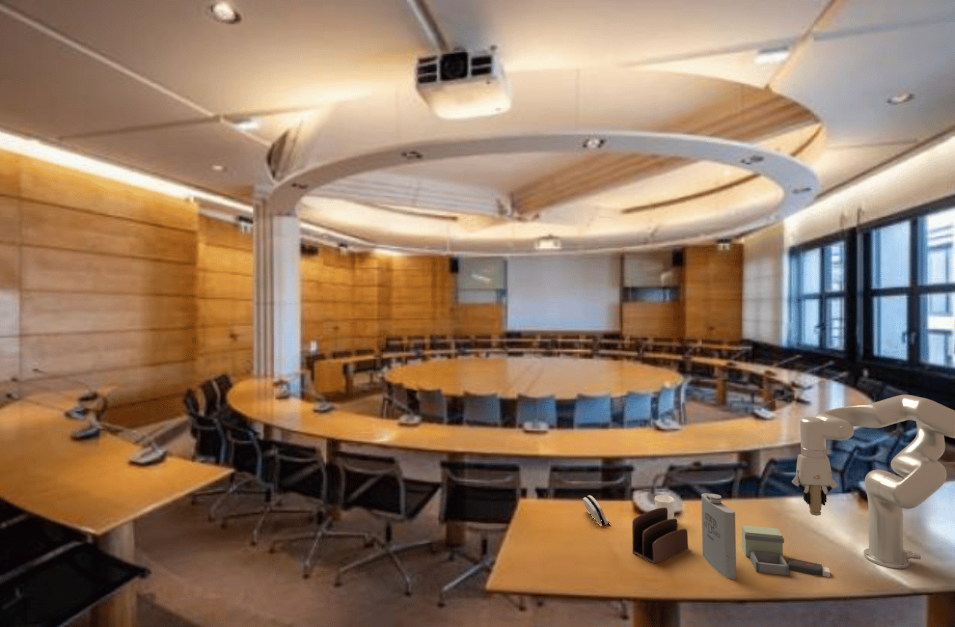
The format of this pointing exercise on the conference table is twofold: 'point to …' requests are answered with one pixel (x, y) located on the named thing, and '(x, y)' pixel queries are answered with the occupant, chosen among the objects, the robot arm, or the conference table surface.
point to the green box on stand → (764, 549)
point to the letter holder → (657, 536)
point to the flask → (718, 535)
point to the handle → (815, 498)
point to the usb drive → (808, 567)
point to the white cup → (665, 504)
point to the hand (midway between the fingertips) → (814, 502)
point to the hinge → (595, 509)
